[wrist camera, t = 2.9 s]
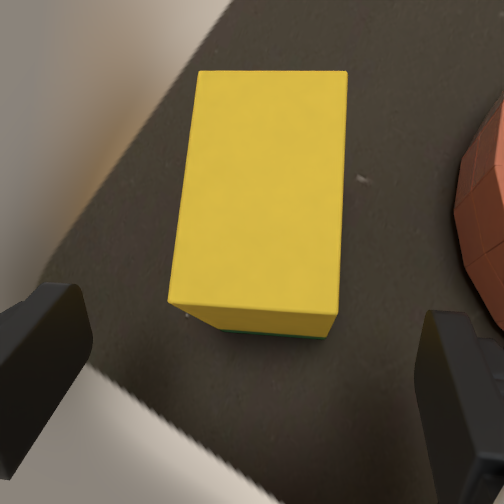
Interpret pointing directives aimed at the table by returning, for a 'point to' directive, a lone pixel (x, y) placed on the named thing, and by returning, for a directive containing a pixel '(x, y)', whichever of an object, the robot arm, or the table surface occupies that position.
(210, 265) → the sponge
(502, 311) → the bowl
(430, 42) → the table surface
